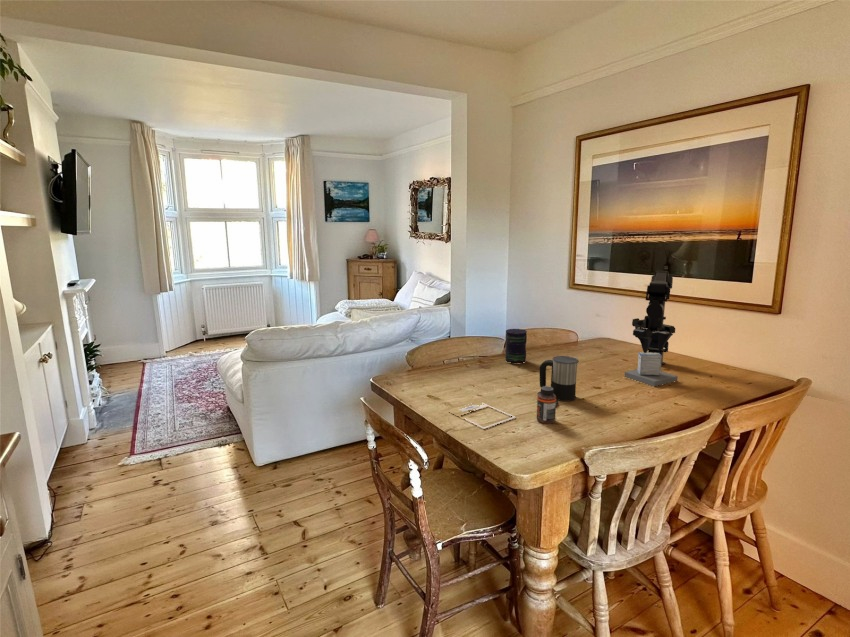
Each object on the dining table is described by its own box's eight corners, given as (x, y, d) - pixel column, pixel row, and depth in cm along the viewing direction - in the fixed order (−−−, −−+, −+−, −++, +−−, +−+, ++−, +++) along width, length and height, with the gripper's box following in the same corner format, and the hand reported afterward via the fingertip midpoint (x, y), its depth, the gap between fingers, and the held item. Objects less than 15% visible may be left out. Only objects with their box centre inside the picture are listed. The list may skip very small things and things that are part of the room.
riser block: (646, 373, 197) (647, 367, 197) (676, 383, 185) (677, 376, 185) (624, 378, 191) (624, 371, 191) (653, 388, 179) (654, 381, 178)
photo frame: (479, 400, 165) (516, 416, 151) (479, 403, 165) (516, 419, 151) (448, 410, 157) (483, 428, 143) (448, 413, 157) (483, 431, 143)
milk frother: (575, 393, 173) (577, 356, 170) (579, 409, 158) (581, 368, 155) (537, 391, 176) (538, 354, 173) (537, 406, 161) (538, 366, 158)
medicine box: (657, 373, 188) (658, 352, 187) (660, 375, 184) (662, 355, 183) (637, 372, 190) (638, 351, 189) (639, 374, 186) (641, 354, 185)
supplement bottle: (533, 417, 152) (535, 385, 150) (551, 416, 152) (552, 384, 150) (539, 424, 146) (541, 391, 144) (557, 424, 146) (559, 390, 144)
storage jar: (510, 357, 223) (511, 327, 220) (529, 360, 217) (530, 330, 214) (501, 362, 215) (501, 331, 212) (520, 365, 209) (521, 334, 206)
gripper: (653, 309, 194) (650, 344, 197) (622, 313, 186) (620, 349, 189) (677, 313, 184) (674, 350, 187) (647, 317, 176) (643, 356, 179)
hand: (652, 351), depth 186 cm, fingers open, 9 cm apart
